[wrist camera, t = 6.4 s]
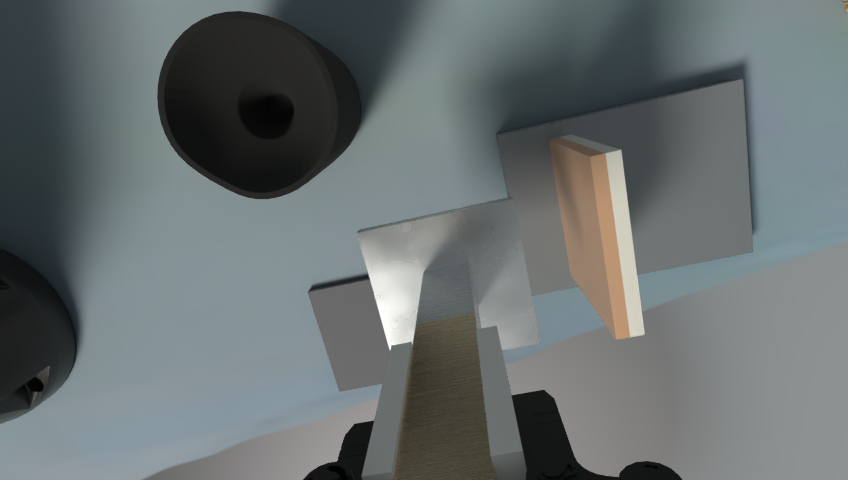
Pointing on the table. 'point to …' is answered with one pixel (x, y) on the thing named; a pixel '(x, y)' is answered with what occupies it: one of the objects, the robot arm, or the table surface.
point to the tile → (598, 230)
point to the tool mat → (352, 333)
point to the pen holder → (256, 103)
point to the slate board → (643, 180)
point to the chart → (846, 4)
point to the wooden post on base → (449, 326)
